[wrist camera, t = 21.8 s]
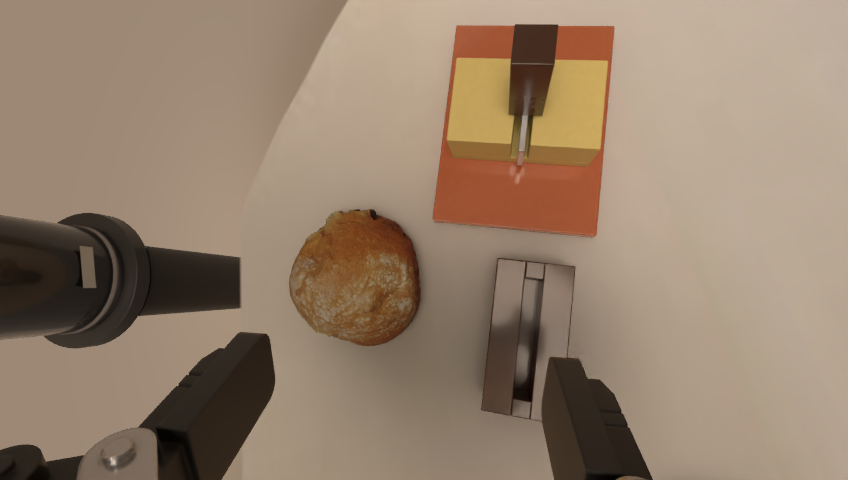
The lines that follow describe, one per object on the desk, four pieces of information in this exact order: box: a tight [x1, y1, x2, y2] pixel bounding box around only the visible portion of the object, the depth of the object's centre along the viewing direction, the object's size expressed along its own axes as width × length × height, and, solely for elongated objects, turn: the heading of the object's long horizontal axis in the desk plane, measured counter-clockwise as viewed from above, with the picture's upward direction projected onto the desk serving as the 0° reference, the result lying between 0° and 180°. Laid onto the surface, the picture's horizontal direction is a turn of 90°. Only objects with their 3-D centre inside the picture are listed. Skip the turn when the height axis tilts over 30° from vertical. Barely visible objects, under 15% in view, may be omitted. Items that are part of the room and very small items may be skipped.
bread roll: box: [289, 209, 420, 346], centre depth 31 cm, size 10×10×8 cm
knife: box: [508, 24, 558, 166], centre depth 26 cm, size 7×2×10 cm, turn 173°
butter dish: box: [433, 26, 614, 237], centre depth 32 cm, size 16×12×1 cm
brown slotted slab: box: [481, 258, 575, 422], centre depth 29 cm, size 10×5×4 cm, turn 173°
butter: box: [446, 58, 608, 167], centre depth 30 cm, size 6×10×4 cm, turn 83°
